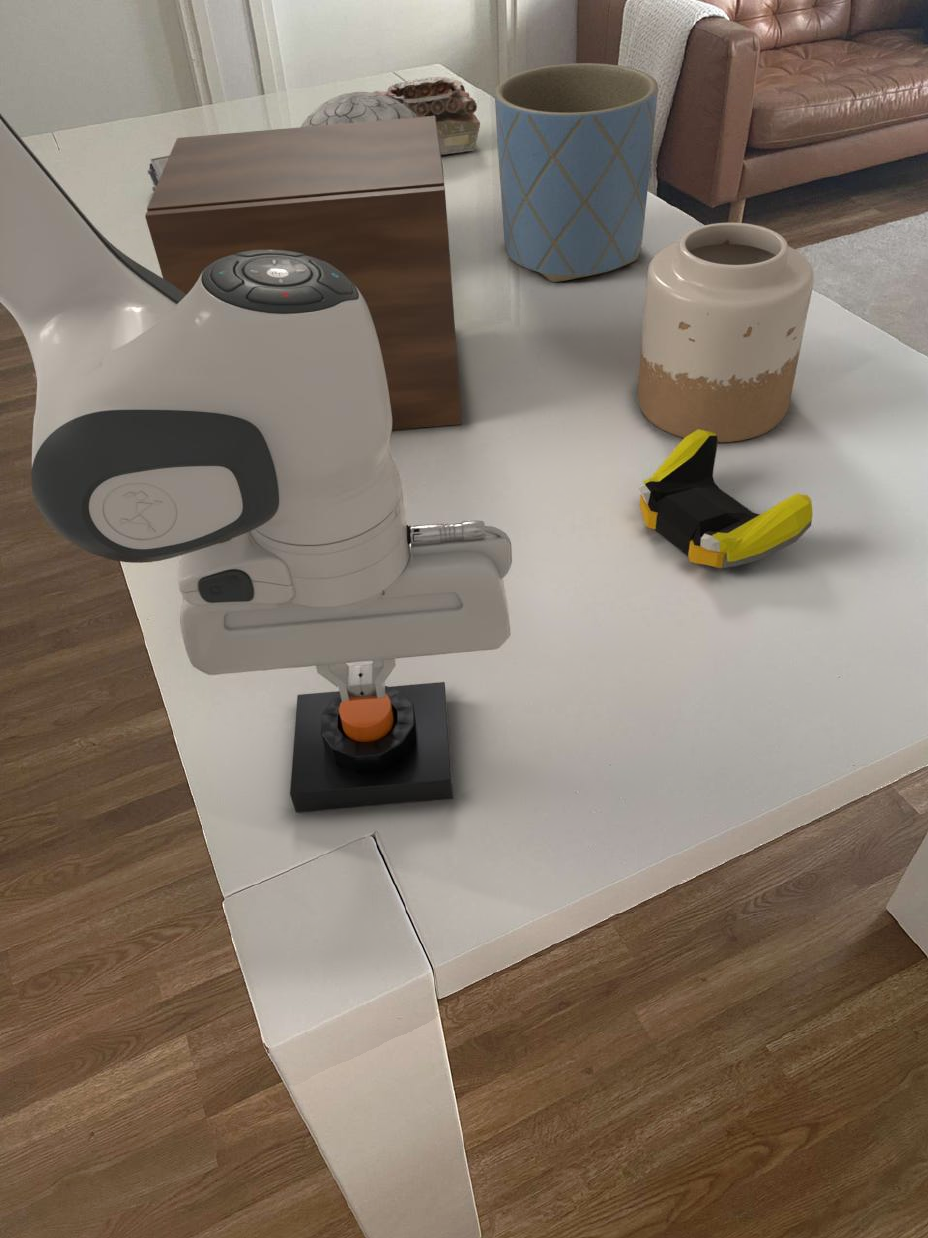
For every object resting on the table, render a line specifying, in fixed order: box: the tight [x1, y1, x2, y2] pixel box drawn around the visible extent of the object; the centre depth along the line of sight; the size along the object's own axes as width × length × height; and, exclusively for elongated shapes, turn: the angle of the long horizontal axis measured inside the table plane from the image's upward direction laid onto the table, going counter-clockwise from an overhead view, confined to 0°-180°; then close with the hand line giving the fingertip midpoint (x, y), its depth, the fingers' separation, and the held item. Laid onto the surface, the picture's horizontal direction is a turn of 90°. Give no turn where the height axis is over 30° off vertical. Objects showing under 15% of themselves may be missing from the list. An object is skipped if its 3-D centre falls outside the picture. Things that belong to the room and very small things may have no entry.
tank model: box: [372, 76, 481, 156], centre depth 153 cm, size 13×20×10 cm, turn 98°
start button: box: [339, 693, 394, 743], centre depth 68 cm, size 4×4×2 cm
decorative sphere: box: [300, 91, 445, 179], centre depth 124 cm, size 20×20×20 cm
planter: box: [494, 62, 659, 283], centre depth 121 cm, size 19×19×20 cm
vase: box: [637, 222, 815, 443], centre depth 95 cm, size 15×15×17 cm
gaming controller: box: [638, 429, 813, 570], centre depth 85 cm, size 15×6×10 cm
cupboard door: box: [144, 185, 463, 431], centre depth 90 cm, size 7×26×24 cm, turn 93°
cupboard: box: [146, 116, 445, 212], centre depth 99 cm, size 18×26×24 cm
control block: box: [289, 681, 454, 813], centre depth 69 cm, size 11×9×4 cm
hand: (364, 692), depth 66 cm, fingers closed
